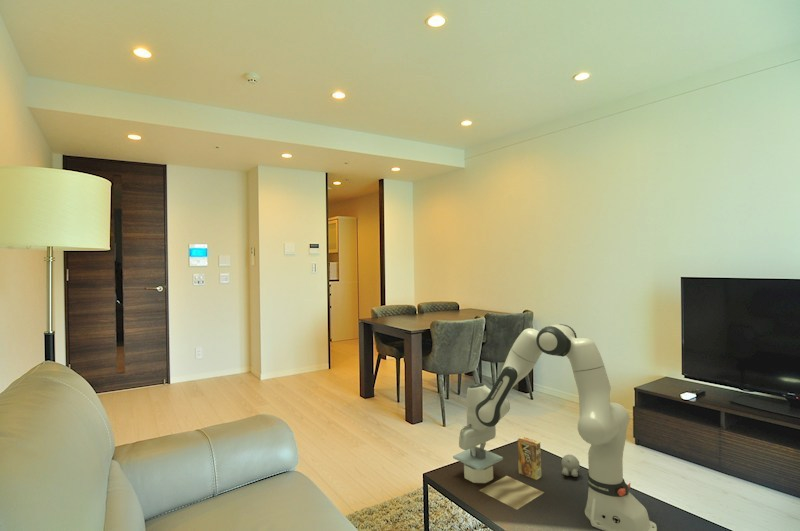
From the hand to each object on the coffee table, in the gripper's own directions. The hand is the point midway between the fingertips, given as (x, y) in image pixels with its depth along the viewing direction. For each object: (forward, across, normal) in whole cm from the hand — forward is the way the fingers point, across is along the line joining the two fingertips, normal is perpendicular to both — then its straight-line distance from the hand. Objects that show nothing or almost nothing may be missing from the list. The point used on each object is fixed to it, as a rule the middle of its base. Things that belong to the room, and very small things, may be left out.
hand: (477, 454), depth 181 cm
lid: (+2, 0, 0) cm, 2 cm away
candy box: (+10, +17, -14) cm, 24 cm away
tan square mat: (+10, 0, -17) cm, 20 cm away
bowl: (+10, 0, 0) cm, 10 cm away
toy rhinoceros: (+10, +32, -25) cm, 41 cm away
